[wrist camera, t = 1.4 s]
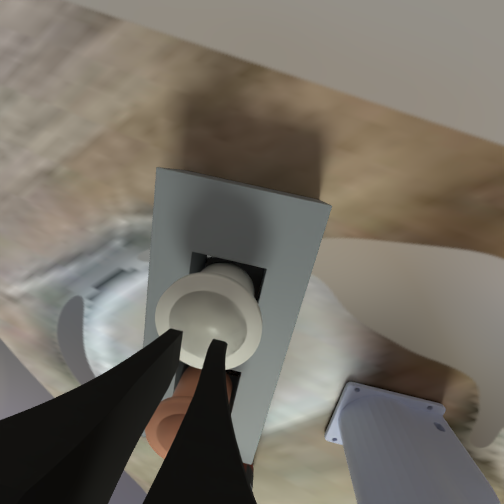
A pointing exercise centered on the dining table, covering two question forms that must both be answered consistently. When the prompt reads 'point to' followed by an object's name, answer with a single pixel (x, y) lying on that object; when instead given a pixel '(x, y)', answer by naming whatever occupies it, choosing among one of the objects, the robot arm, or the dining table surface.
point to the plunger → (212, 314)
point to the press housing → (243, 251)
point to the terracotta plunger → (174, 411)
